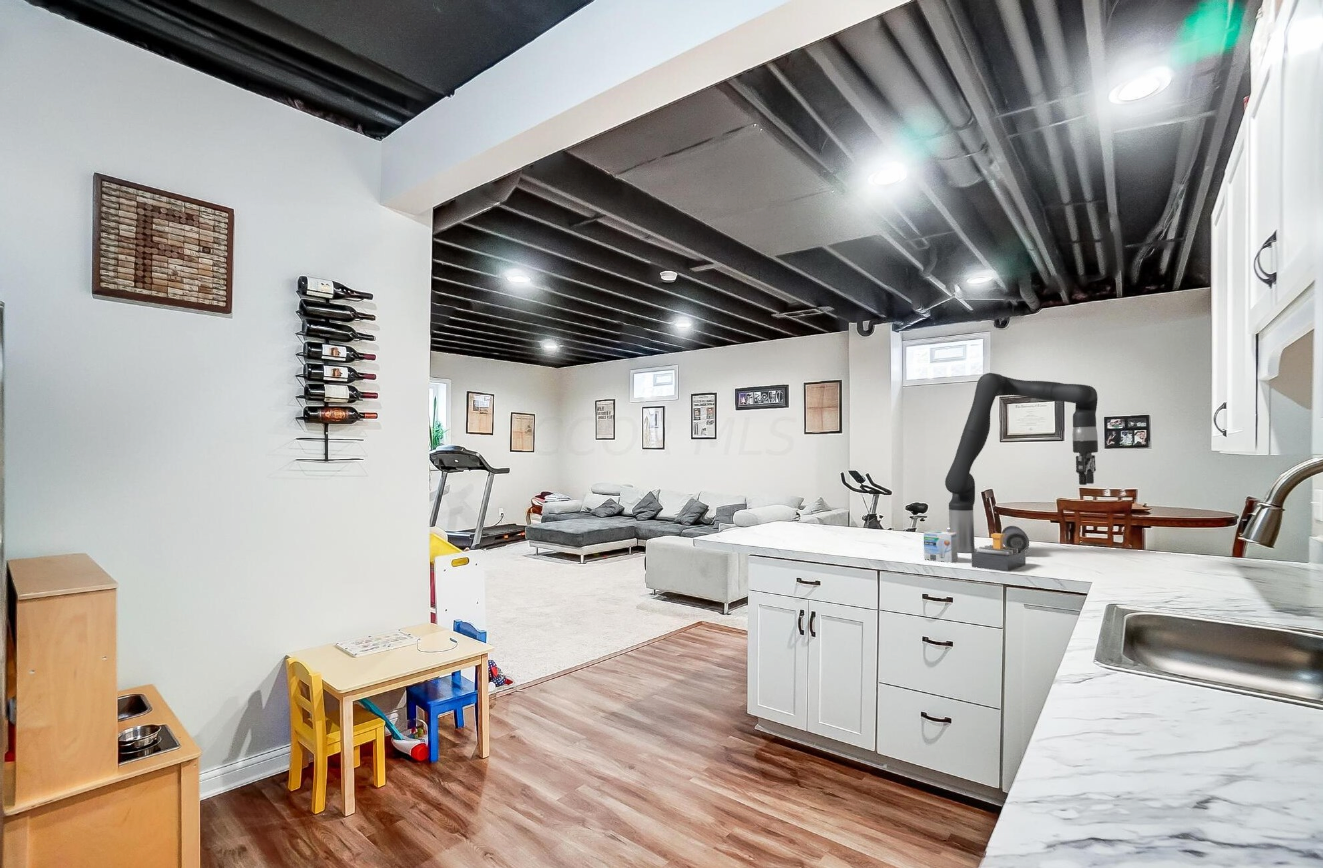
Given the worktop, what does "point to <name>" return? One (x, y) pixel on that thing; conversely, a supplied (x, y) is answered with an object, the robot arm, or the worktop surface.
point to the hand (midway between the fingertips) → (1086, 484)
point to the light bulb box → (940, 546)
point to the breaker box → (999, 559)
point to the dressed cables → (996, 551)
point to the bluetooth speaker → (1015, 538)
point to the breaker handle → (998, 540)
